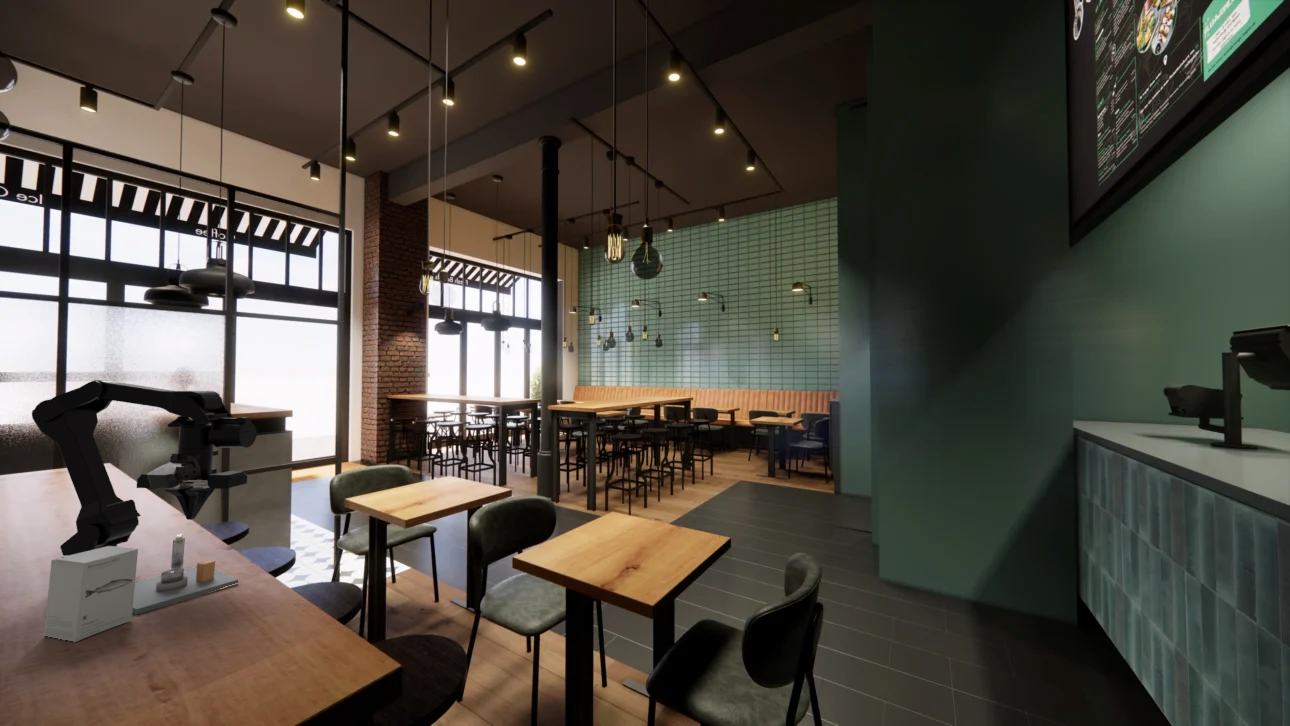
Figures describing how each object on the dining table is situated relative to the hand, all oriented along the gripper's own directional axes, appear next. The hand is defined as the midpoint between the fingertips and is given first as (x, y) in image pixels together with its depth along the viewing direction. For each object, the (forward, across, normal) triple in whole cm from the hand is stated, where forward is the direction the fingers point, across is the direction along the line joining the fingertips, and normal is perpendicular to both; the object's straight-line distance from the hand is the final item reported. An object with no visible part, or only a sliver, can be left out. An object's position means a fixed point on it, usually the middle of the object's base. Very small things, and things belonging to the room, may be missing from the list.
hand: (190, 519), depth 102 cm
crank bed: (+12, +4, -7) cm, 15 cm away
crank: (+10, +2, -6) cm, 11 cm away
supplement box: (+12, +4, -23) cm, 26 cm away
